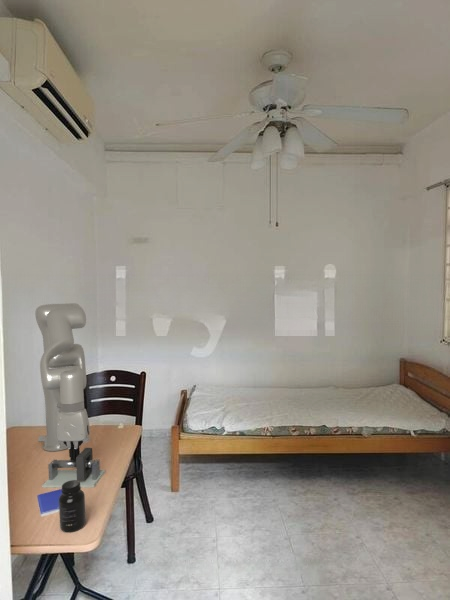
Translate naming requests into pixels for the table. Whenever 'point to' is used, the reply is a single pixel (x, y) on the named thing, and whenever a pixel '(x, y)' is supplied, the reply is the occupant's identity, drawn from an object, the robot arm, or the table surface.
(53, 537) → the table surface
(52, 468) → the rail
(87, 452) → the collar
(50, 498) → the hard drive
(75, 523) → the supplement bottle
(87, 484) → the board
